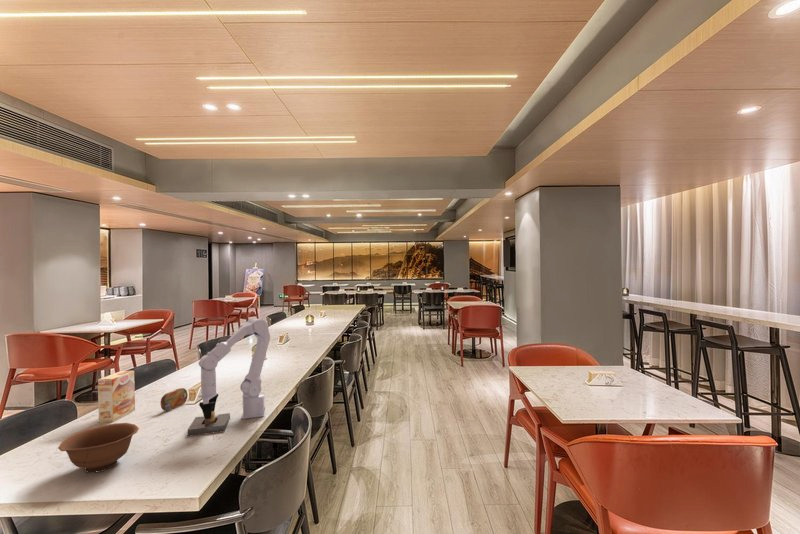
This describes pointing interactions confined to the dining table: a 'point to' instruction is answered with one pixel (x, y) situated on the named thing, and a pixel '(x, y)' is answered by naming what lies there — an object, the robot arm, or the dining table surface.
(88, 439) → the bowl
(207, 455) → the dining table surface
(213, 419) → the peg
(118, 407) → the coffeecake box
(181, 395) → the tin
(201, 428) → the plate
